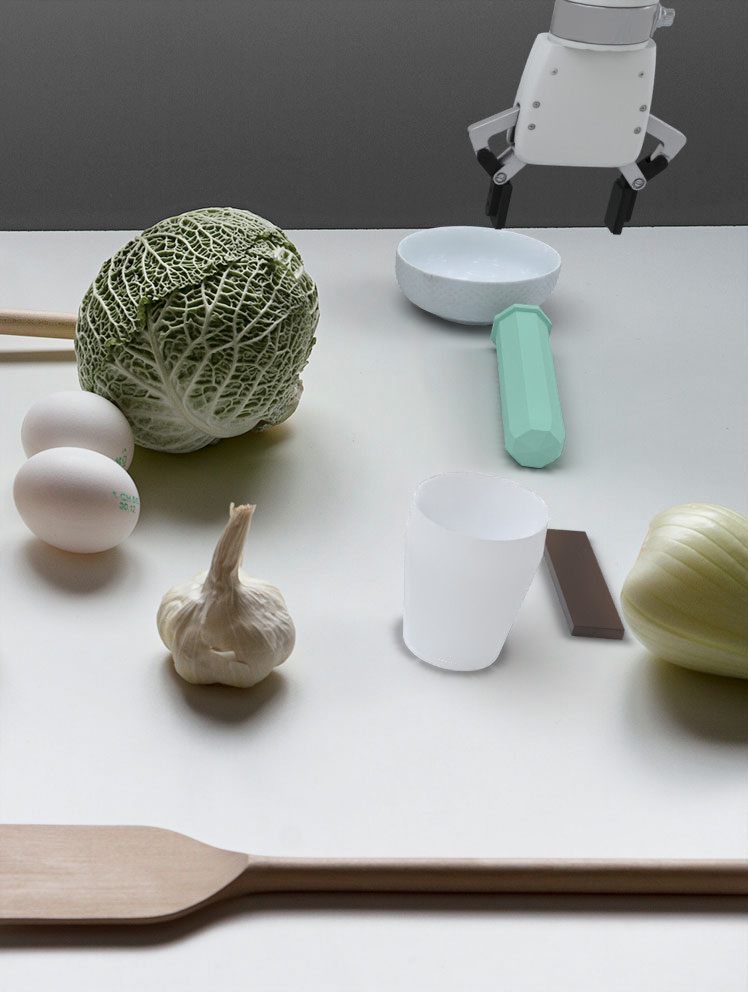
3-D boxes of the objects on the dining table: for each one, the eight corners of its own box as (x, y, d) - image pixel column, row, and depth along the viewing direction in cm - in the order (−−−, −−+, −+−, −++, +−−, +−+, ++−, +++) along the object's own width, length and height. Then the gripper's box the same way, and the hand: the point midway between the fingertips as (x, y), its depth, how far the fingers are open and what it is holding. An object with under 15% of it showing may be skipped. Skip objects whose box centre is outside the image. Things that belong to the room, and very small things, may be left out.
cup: (401, 594, 99) (427, 459, 92) (525, 627, 95) (561, 488, 89) (372, 662, 92) (397, 521, 85) (504, 700, 88) (541, 555, 82)
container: (565, 415, 110) (545, 295, 130) (493, 430, 112) (483, 311, 132) (579, 473, 112) (557, 347, 132) (508, 486, 115) (496, 361, 135)
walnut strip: (582, 543, 104) (585, 530, 104) (621, 643, 93) (625, 630, 93) (536, 539, 105) (540, 527, 104) (570, 639, 94) (574, 625, 93)
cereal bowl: (481, 273, 152) (493, 215, 148) (582, 329, 138) (597, 267, 135) (357, 295, 147) (366, 236, 143) (449, 355, 133) (462, 291, 130)
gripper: (702, 14, 105) (646, 216, 115) (481, 9, 108) (445, 207, 117) (731, 36, 99) (670, 247, 108) (497, 30, 101) (457, 238, 111)
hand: (553, 226), depth 113 cm, fingers open, 9 cm apart
